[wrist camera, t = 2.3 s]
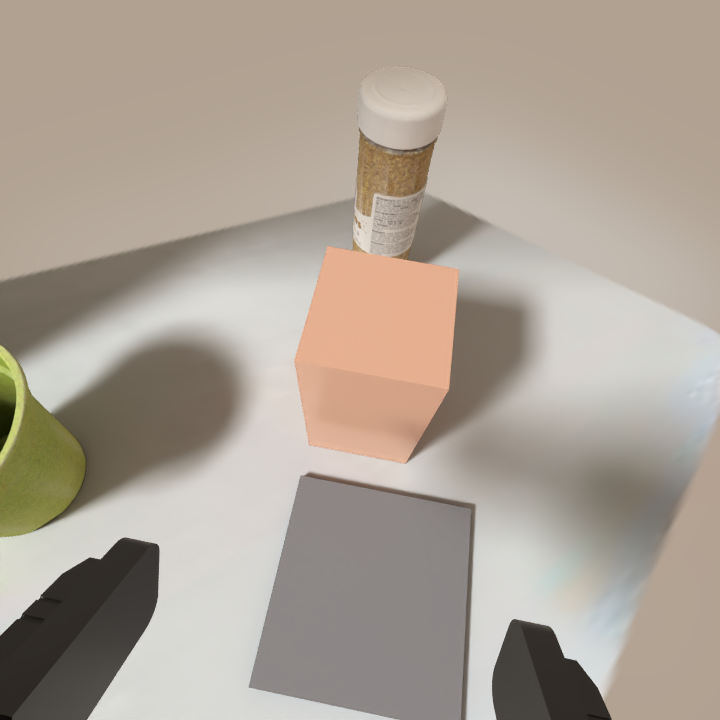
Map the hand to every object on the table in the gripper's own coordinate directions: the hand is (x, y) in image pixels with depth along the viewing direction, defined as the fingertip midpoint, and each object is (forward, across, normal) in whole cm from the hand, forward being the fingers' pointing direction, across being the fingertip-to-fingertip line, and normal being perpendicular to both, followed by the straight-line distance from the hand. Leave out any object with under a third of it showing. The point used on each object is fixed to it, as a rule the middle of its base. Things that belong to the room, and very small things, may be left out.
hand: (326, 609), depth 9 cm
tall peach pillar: (+18, 0, +3) cm, 18 cm away
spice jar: (+26, +1, -6) cm, 27 cm away
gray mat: (+11, -2, +10) cm, 15 cm away
